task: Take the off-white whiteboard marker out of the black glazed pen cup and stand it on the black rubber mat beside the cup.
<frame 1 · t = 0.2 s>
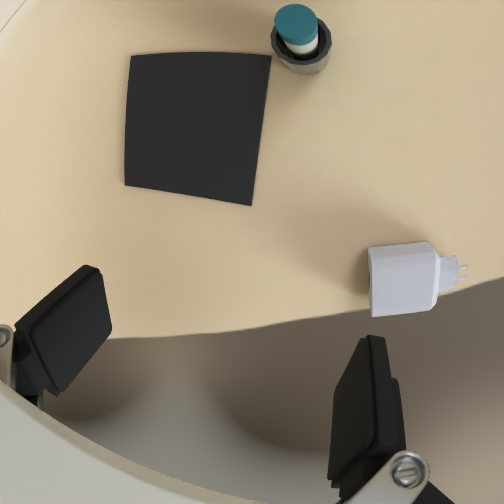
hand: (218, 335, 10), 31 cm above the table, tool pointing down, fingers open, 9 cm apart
marker: (305, 52, 30), point 1 cm above the table, touching pen cup
pen cup: (305, 53, 30), on the table
mat: (187, 123, 37), on the table
charger: (416, 268, 39), on the table
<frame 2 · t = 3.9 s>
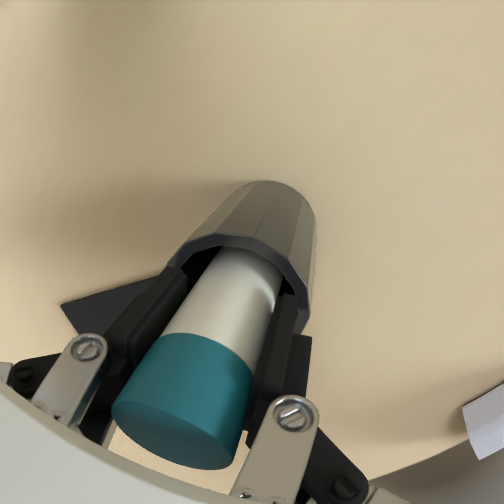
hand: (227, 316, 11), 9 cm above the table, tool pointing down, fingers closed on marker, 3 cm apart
marker: (266, 230, 18), point 1 cm above the table, touching gripper, pen cup
pen cup: (268, 227, 18), on the table
mat: (175, 371, 27), on the table
when the fingers open (9 cm above the table, at t = 11.5 s): marker stays where it is, resting on mat.
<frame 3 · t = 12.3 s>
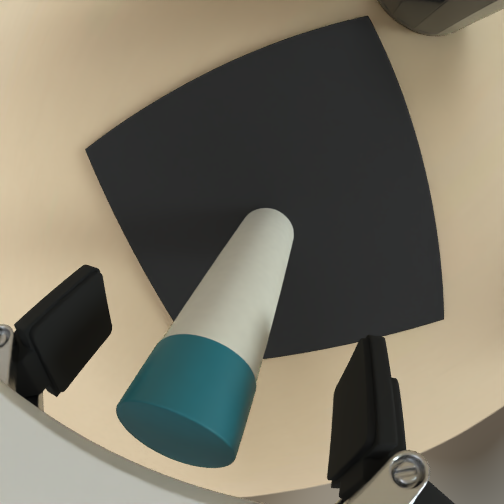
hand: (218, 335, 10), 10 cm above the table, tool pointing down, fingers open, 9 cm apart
marker: (267, 233, 18), resting on mat
mat: (268, 228, 18), on the table
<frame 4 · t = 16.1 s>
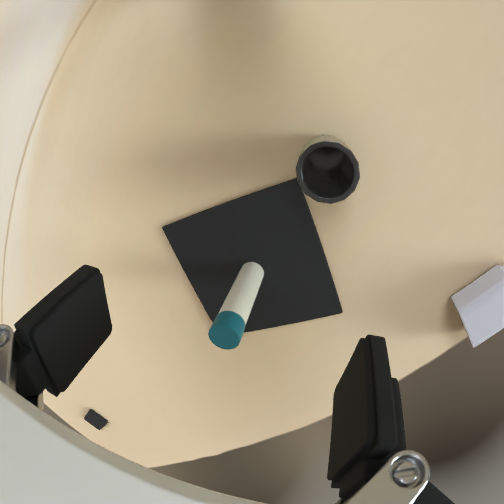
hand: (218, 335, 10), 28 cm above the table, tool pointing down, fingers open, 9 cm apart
marker: (252, 272, 42), resting on mat
pen cup: (326, 159, 33), on the table
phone: (96, 418, 84), on the table
mat: (253, 269, 42), on the table
charger: (495, 287, 34), on the table
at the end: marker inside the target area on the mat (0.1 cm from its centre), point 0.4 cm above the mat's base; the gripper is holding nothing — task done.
